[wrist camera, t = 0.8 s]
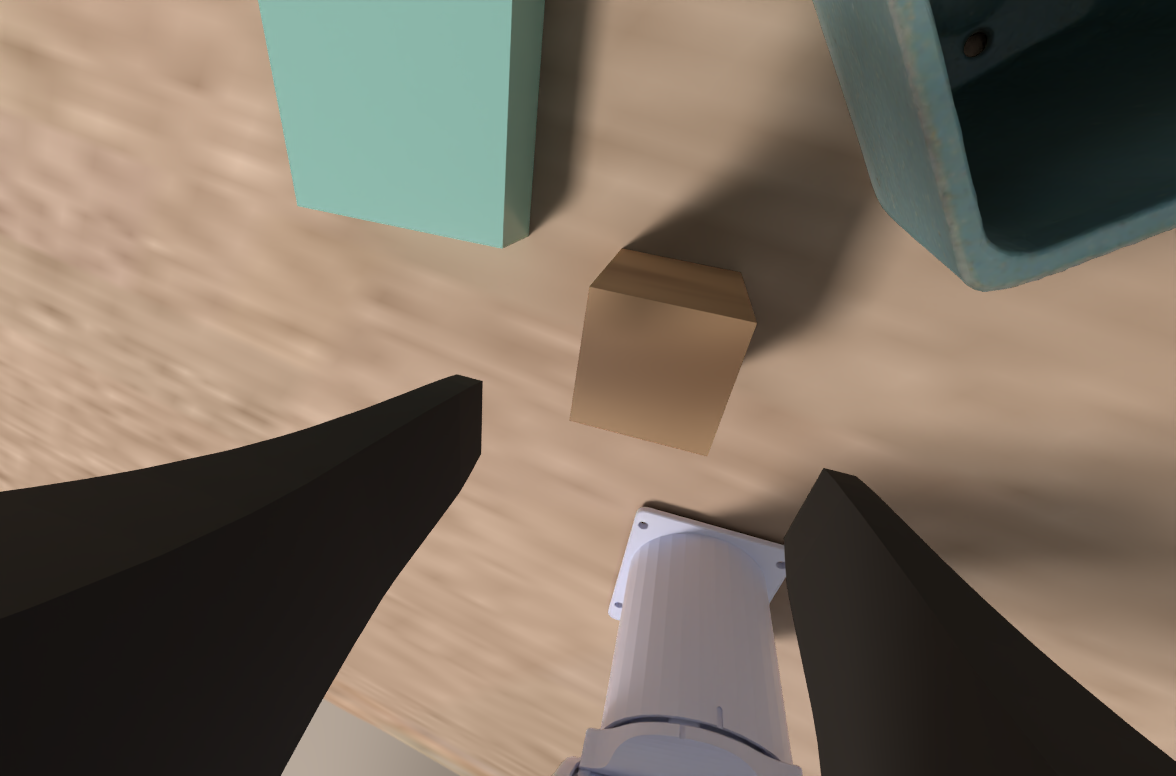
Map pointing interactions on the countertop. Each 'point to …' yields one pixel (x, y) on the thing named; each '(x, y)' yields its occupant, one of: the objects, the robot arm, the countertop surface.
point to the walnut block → (661, 349)
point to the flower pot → (1013, 126)
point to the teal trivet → (411, 110)
